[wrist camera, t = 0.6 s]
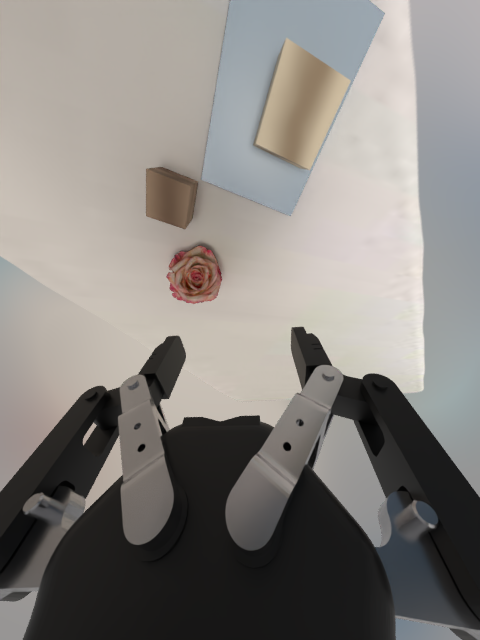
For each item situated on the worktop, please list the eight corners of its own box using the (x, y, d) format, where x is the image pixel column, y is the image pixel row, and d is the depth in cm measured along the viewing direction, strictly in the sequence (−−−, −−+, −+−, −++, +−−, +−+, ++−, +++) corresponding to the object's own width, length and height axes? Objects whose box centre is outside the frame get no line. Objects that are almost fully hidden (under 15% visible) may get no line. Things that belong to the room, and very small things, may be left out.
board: (202, 179, 26) (201, 179, 25) (245, -85, 15) (246, -101, 14) (288, 214, 29) (290, 216, 28) (377, 20, 18) (384, 13, 17)
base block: (252, 145, 23) (255, 143, 20) (278, 56, 19) (286, 37, 16) (301, 168, 25) (310, 170, 22) (334, 91, 20) (351, 80, 17)
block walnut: (159, 207, 28) (146, 216, 24) (161, 167, 25) (146, 168, 21) (192, 218, 29) (185, 229, 25) (198, 181, 26) (190, 186, 22)
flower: (218, 302, 38) (225, 303, 31) (171, 303, 36) (167, 304, 28) (216, 254, 37) (224, 243, 29) (168, 251, 34) (163, 239, 27)
